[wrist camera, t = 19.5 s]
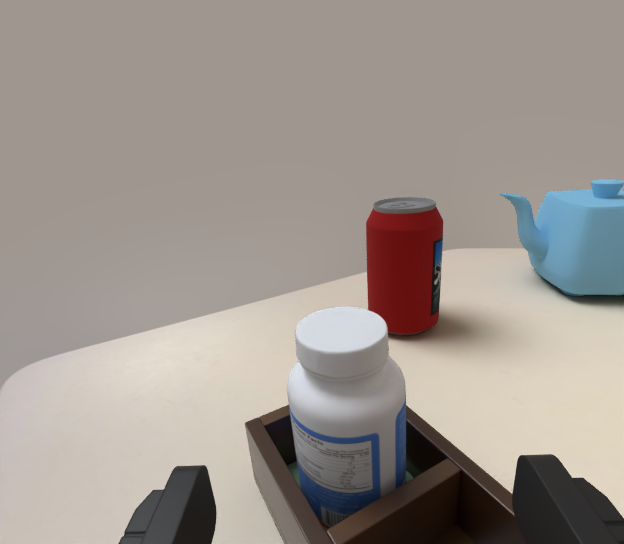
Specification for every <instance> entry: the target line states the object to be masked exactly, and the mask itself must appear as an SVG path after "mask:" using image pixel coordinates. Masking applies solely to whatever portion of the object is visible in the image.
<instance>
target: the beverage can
mask: <svg viewBox="0 0 624 544" xmlns="http://www.w3.org/2000/svg"><path fill="white" fill-rule="evenodd" d="M435 205H436V203H435V201H434V200H431V199H426V198H412V197H408V198H392V199H385V200H381V201H377V202H375V203H374V208H373V210H372V212H371V214H370V216H369V218H368V220H367V222H366V228H367V229H366V230H367V231H366V236H367V282H368V310H369V311H372V312H374V313H376V314H378V315H379V316H380V317H382V318H383V319H384V321H385V322H386V324H387V328H388V332H389V333H392V334H396V335H414V334H418V333H421V332H423V331H425V330H428V329H430V328H432V327H433V326H434V325H435V324H436V323H437V321H438V316H439V301H440V283H441V263H442V240H443V238H442V237H443V219H442V217H441V216H440V213H439V212H438V210H437V208H436V206H435Z"/></svg>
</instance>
